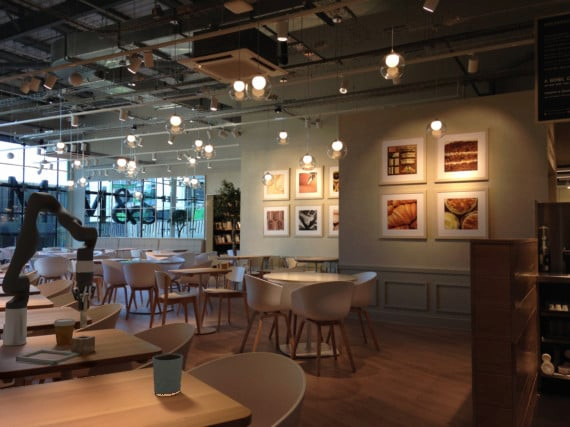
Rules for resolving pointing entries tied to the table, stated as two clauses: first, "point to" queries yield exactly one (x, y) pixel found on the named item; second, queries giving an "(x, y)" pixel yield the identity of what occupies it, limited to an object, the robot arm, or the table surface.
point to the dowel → (84, 314)
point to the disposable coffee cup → (64, 331)
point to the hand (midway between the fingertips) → (83, 309)
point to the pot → (83, 344)
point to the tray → (46, 361)
